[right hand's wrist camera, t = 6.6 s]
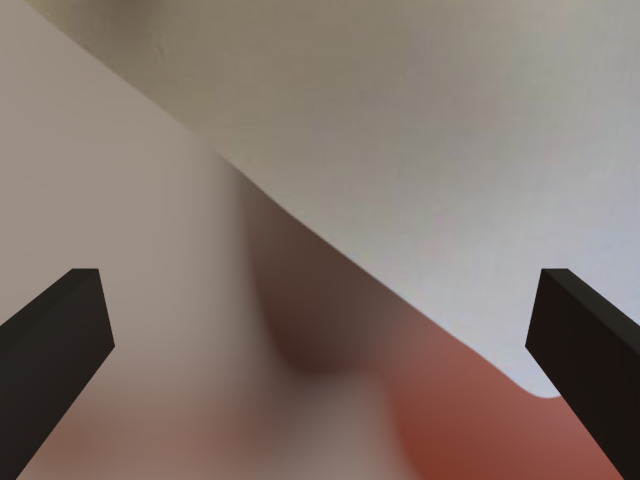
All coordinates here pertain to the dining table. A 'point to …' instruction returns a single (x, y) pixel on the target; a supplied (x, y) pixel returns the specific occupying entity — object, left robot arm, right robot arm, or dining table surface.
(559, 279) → the right robot arm
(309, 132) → the dining table surface
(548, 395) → the dining table surface
